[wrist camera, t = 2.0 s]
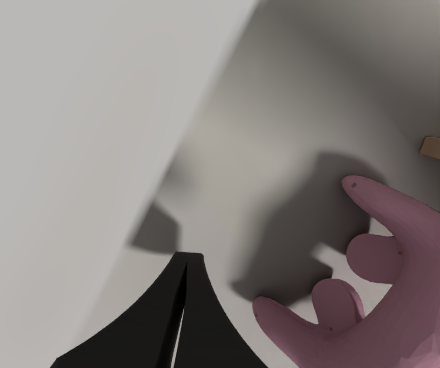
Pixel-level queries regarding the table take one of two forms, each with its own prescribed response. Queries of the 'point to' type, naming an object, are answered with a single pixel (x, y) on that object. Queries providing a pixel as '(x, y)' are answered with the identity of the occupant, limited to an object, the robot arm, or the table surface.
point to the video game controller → (387, 308)
